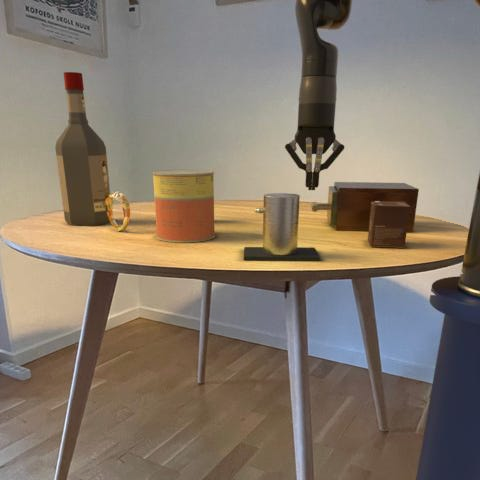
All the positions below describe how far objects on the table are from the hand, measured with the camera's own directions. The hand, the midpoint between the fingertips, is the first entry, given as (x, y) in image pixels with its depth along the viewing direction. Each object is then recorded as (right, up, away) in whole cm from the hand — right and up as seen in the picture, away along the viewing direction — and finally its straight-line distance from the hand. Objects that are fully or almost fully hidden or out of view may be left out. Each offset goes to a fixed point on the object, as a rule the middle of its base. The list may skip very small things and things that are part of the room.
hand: (311, 189), depth 102 cm
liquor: (-50, -7, +4) cm, 50 cm away
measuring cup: (-9, -17, -26) cm, 32 cm away
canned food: (-26, -12, -11) cm, 31 cm away
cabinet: (+13, -8, +1) cm, 15 cm away
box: (+11, -15, -17) cm, 25 cm away
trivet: (-9, -18, -25) cm, 32 cm away
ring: (-40, -10, -6) cm, 42 cm away
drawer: (+9, -7, +1) cm, 11 cm away
